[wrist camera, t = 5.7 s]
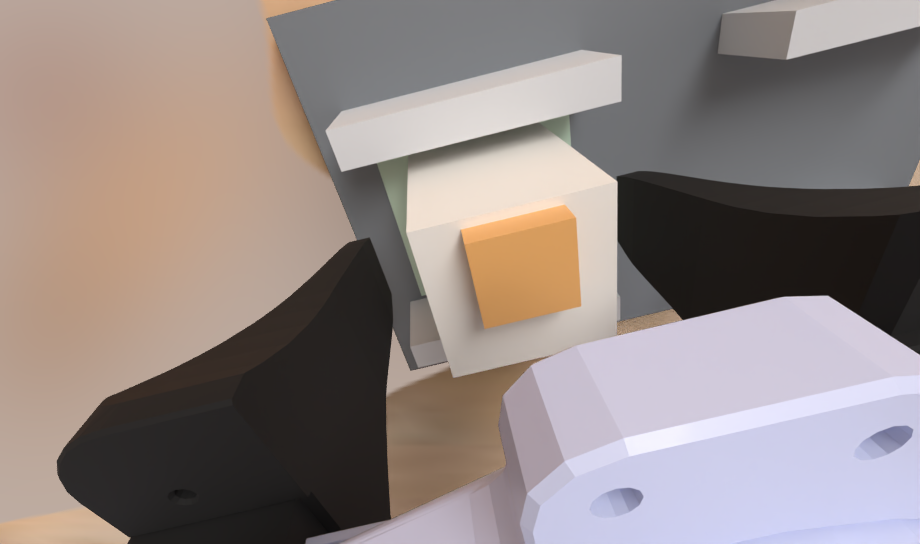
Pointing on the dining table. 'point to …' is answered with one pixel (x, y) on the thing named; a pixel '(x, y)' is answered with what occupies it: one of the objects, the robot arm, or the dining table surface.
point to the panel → (602, 101)
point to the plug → (513, 246)
